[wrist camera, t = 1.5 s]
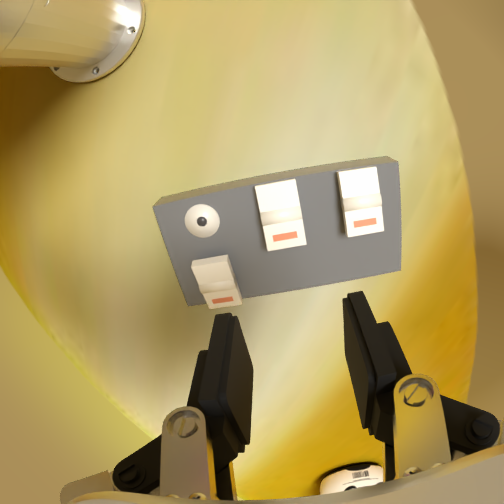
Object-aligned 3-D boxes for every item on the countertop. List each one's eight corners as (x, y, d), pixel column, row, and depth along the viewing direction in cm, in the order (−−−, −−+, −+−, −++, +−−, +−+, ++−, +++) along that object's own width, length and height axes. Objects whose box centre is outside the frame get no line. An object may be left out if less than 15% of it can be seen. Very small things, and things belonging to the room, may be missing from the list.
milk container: (338, 487, 68) (344, 539, 52) (305, 475, 62) (308, 536, 46) (393, 466, 62) (404, 521, 46) (367, 452, 57) (379, 518, 41)
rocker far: (192, 258, 31) (190, 269, 30) (227, 252, 30) (226, 262, 29) (210, 300, 34) (209, 311, 33) (242, 296, 34) (241, 306, 33)
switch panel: (161, 197, 32) (151, 207, 29) (387, 156, 29) (399, 162, 26) (193, 291, 37) (187, 307, 34) (391, 257, 34) (401, 271, 31)
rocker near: (335, 171, 28) (339, 172, 26) (372, 166, 27) (377, 166, 26) (345, 233, 29) (348, 238, 28) (379, 227, 29) (385, 231, 27)
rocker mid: (255, 185, 28) (254, 186, 27) (294, 178, 28) (295, 179, 26) (268, 247, 30) (267, 252, 29) (305, 240, 30) (307, 245, 28)
